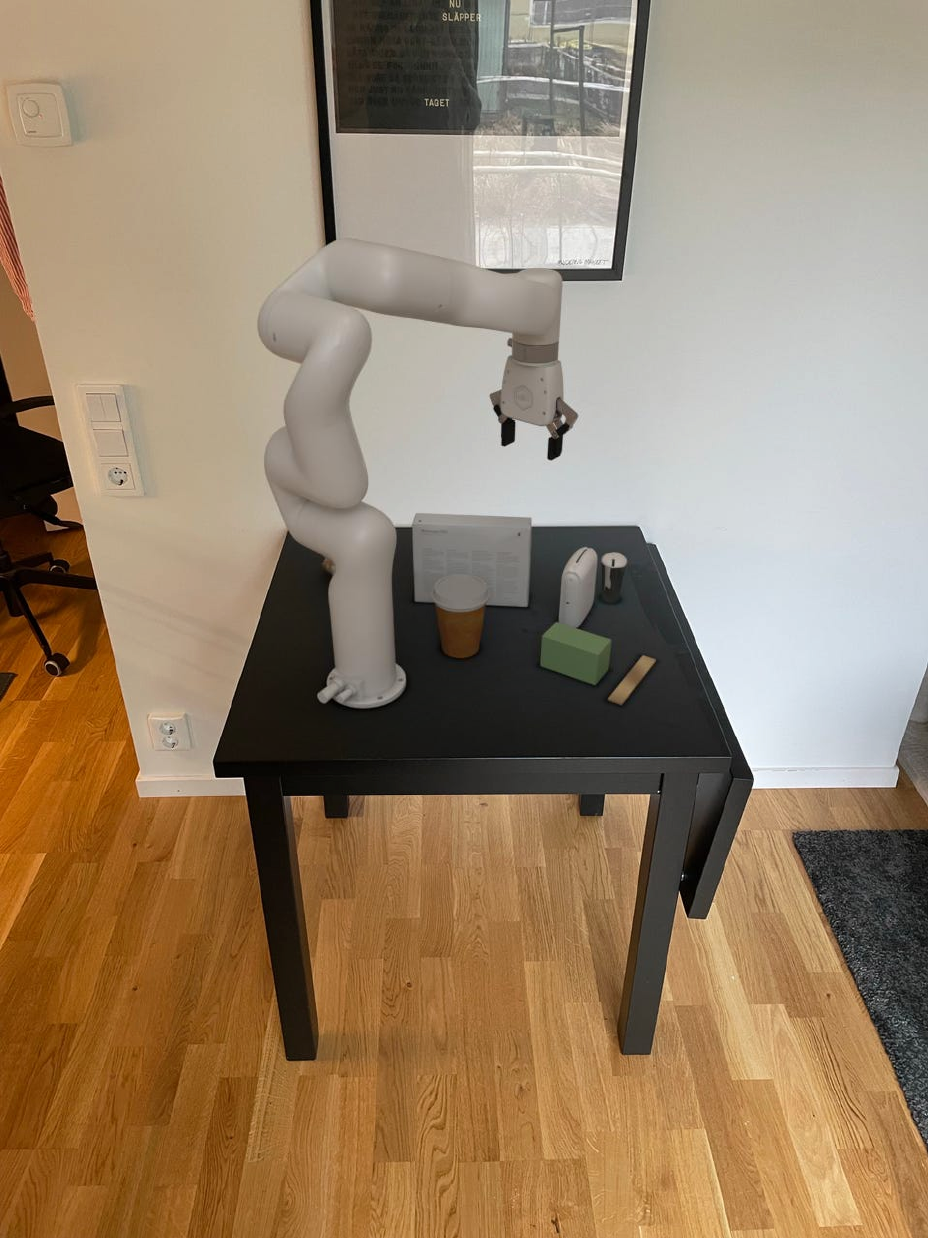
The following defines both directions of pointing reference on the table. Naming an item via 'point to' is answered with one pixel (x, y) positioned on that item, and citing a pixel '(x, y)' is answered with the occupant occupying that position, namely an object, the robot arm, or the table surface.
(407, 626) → the table surface
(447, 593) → the disposable coffee cup
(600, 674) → the green box
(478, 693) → the table surface
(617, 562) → the milkshake
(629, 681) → the strip
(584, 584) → the photo printer
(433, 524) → the skincare box
